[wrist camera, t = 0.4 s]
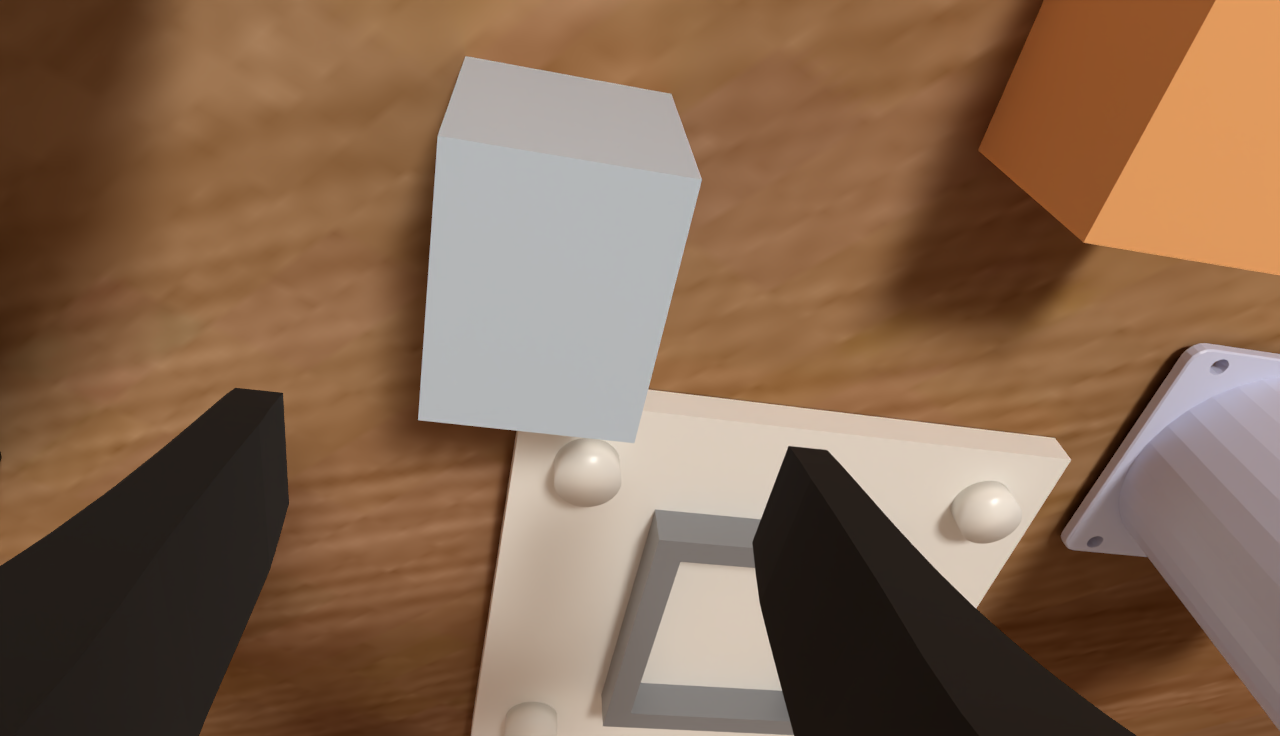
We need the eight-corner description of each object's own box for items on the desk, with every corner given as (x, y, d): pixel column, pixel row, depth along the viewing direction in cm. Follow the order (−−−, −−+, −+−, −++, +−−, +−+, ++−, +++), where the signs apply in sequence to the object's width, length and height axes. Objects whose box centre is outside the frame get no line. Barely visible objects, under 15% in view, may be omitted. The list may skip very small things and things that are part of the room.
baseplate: (1054, 438, 25) (1092, 487, 24) (869, 739, 34) (887, 792, 32) (525, 375, 22) (521, 426, 21) (472, 721, 31) (466, 778, 29)
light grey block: (670, 93, 19) (701, 179, 15) (620, 320, 22) (634, 443, 18) (465, 55, 18) (437, 135, 14) (445, 297, 21) (417, 420, 17)
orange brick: (1292, -91, 17) (1516, -53, 13) (1141, 179, 21) (1283, 275, 17) (1102, -140, 17) (1279, -116, 13) (976, 148, 20) (1083, 242, 16)
